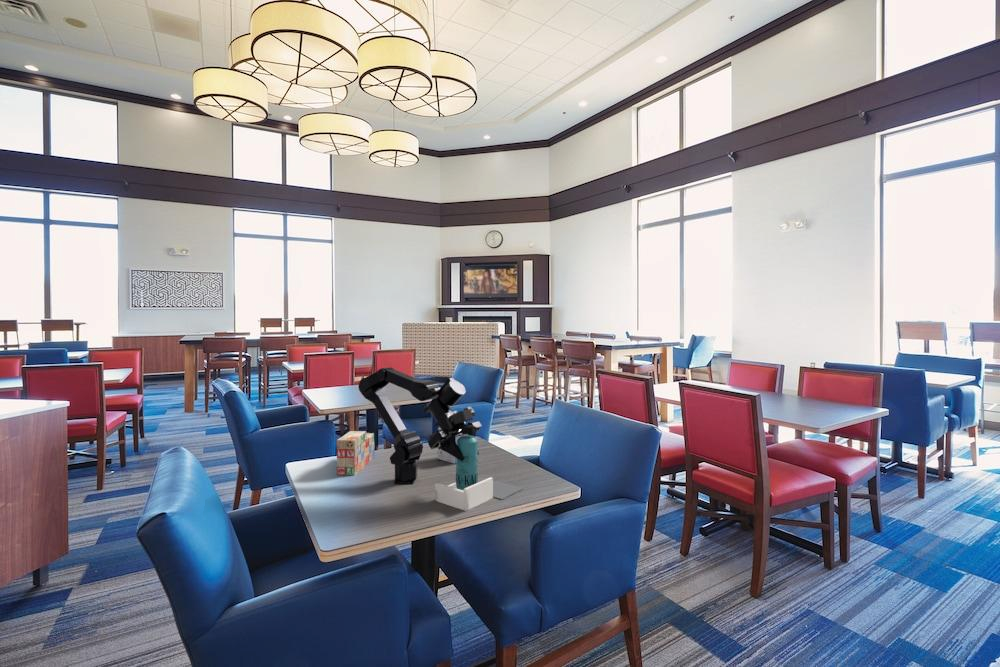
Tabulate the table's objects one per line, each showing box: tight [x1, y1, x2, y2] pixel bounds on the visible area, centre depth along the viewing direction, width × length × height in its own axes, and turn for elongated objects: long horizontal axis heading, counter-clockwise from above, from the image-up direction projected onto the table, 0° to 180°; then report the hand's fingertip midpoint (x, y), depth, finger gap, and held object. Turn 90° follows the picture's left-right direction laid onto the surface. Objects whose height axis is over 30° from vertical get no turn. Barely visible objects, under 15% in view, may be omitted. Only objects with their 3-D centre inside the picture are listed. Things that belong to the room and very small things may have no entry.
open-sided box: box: [434, 476, 494, 512], centre depth 138 cm, size 12×12×6 cm
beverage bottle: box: [455, 424, 479, 491], centre depth 139 cm, size 6×7×20 cm
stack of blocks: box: [336, 430, 375, 476], centre depth 169 cm, size 21×6×12 cm, turn 177°
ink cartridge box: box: [437, 427, 461, 465], centre depth 176 cm, size 10×6×14 cm, turn 49°
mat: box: [477, 475, 524, 501], centre depth 148 cm, size 18×11×1 cm, turn 53°
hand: (470, 457), depth 138 cm, fingers closed on beverage bottle, 6 cm apart
